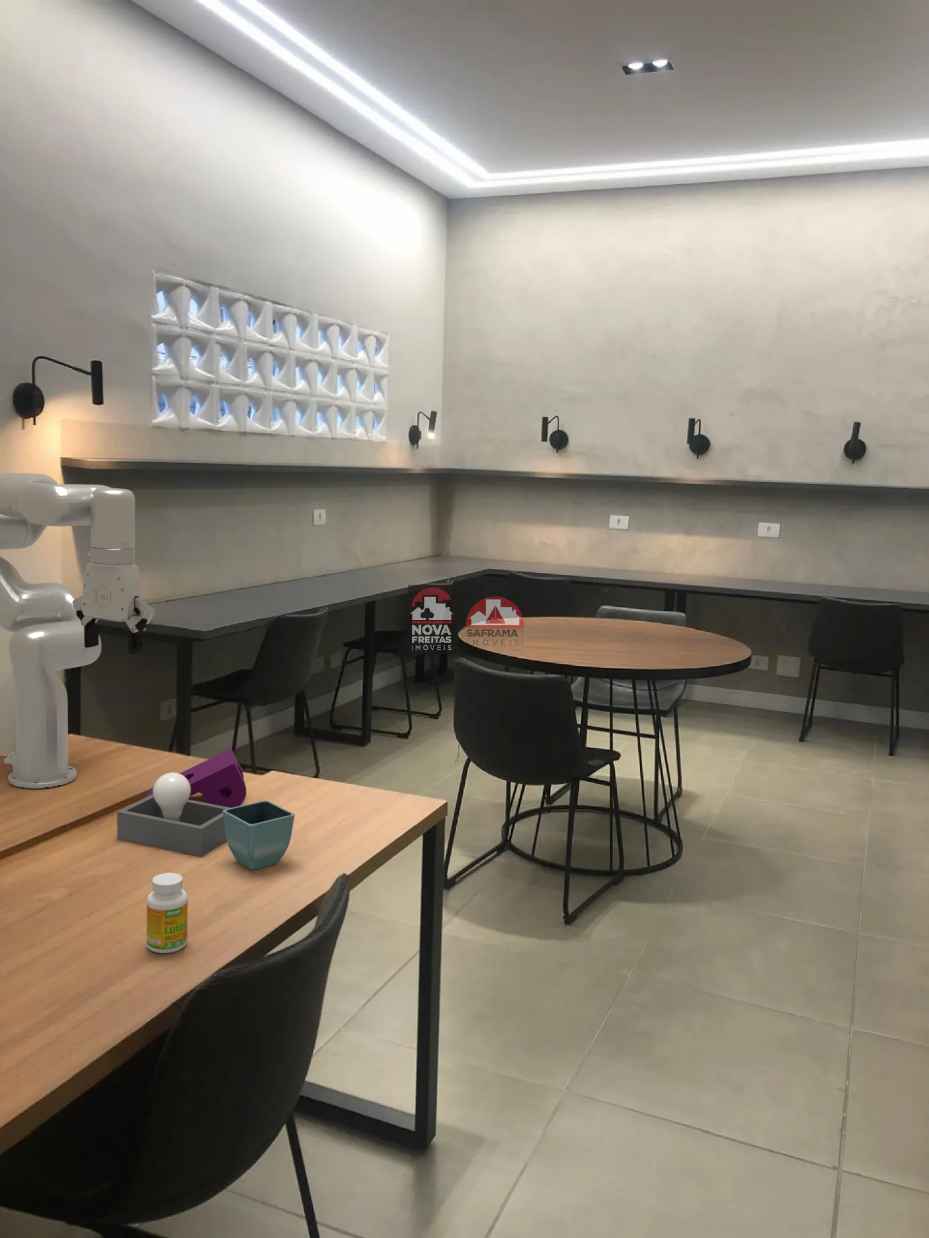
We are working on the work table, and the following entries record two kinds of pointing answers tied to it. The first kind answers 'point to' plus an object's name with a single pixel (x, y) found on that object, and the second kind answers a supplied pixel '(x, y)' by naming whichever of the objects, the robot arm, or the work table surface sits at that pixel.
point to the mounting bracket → (217, 780)
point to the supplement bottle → (167, 914)
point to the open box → (173, 827)
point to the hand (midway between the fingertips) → (113, 649)
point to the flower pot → (258, 833)
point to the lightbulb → (171, 794)
